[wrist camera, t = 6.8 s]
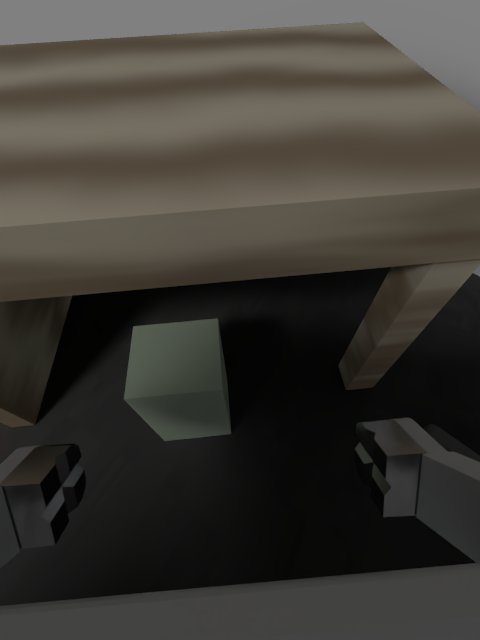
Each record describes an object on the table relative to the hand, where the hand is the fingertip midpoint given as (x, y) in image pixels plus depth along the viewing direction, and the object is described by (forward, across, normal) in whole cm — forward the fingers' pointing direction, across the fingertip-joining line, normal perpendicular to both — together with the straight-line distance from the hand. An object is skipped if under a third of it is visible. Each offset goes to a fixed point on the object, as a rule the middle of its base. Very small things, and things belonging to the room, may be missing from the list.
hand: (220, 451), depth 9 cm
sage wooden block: (+12, -2, -5) cm, 13 cm away
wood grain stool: (+18, -2, +1) cm, 19 cm away
